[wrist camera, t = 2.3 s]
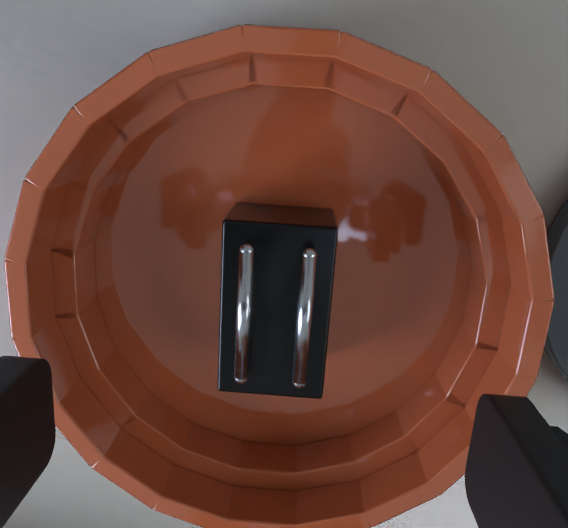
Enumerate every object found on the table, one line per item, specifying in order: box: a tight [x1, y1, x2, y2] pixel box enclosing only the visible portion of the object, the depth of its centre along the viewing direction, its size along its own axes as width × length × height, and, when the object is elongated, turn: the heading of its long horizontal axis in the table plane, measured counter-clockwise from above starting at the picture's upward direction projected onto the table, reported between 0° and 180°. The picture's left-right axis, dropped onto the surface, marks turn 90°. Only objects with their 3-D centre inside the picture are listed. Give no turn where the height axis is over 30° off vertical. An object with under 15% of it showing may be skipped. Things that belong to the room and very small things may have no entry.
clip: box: [217, 202, 338, 399], centre depth 16 cm, size 5×3×3 cm, turn 176°
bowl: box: [4, 24, 554, 528], centre depth 16 cm, size 14×14×4 cm
